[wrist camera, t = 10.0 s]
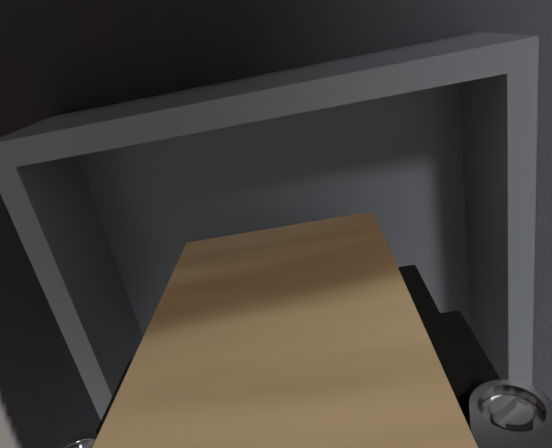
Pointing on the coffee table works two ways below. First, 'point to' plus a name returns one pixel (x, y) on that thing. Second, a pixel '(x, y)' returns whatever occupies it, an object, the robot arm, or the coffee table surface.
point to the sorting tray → (291, 186)
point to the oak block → (287, 350)
